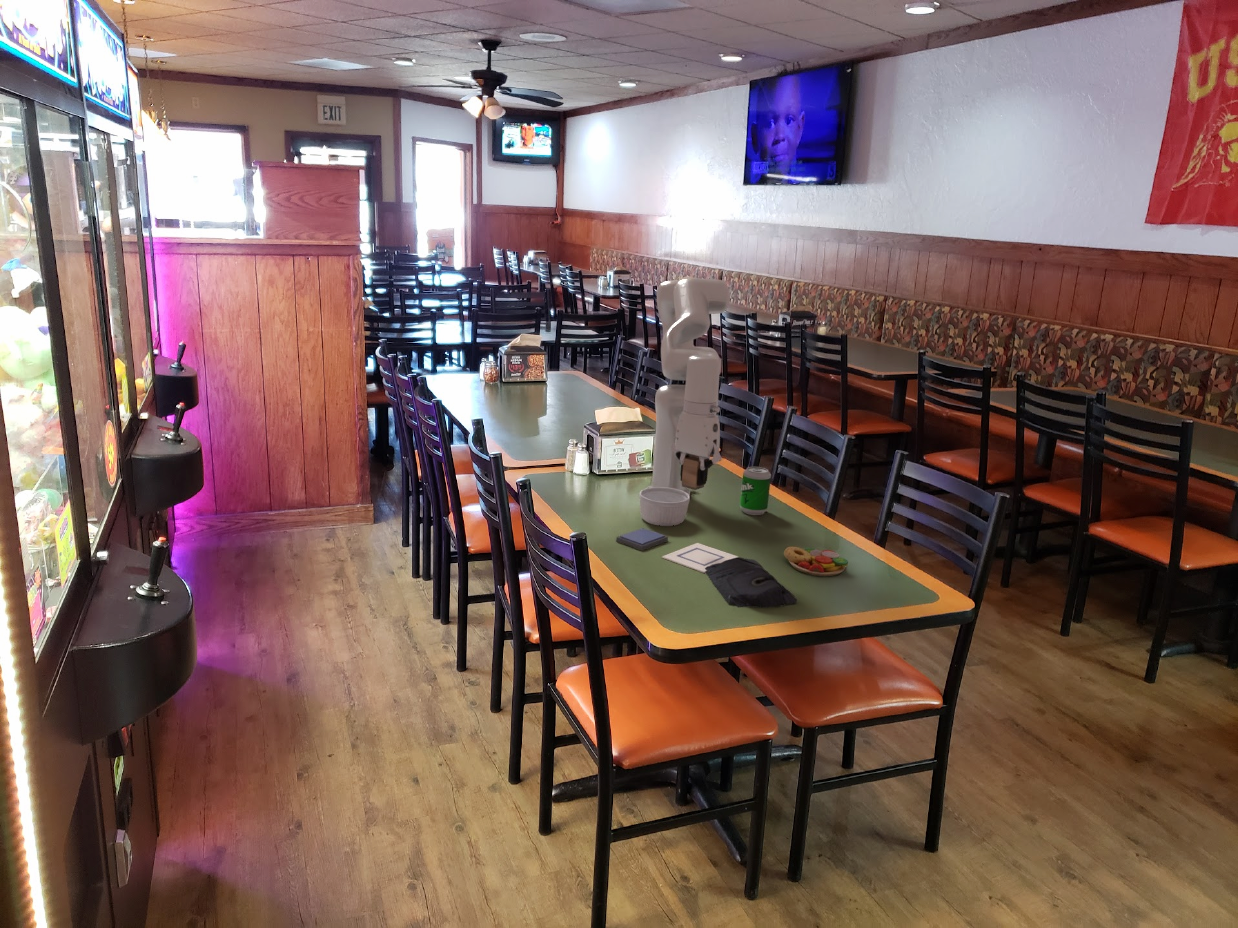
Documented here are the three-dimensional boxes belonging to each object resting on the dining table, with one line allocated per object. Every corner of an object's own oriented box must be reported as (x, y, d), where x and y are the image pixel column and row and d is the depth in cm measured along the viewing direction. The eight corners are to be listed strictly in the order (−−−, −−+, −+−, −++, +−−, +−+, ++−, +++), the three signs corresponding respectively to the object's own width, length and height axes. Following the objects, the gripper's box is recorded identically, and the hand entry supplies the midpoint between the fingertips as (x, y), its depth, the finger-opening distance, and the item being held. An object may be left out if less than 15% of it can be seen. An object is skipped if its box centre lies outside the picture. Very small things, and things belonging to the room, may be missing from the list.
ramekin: (684, 530, 225) (686, 504, 223) (633, 524, 227) (635, 498, 225) (690, 515, 237) (692, 490, 235) (642, 509, 240) (644, 484, 238)
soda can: (766, 508, 247) (770, 467, 243) (767, 517, 239) (772, 474, 236) (738, 506, 247) (743, 464, 244) (739, 514, 240) (744, 472, 237)
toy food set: (776, 558, 210) (778, 545, 209) (824, 554, 215) (826, 542, 214) (806, 580, 198) (808, 566, 197) (856, 576, 203) (858, 562, 202)
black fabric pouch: (762, 568, 204) (765, 549, 203) (800, 608, 184) (803, 587, 182) (699, 569, 201) (701, 550, 200) (730, 611, 180) (732, 589, 179)
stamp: (690, 483, 216) (693, 455, 214) (704, 487, 214) (706, 459, 212) (681, 486, 213) (683, 458, 211) (695, 490, 211) (697, 462, 209)
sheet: (697, 543, 216) (697, 542, 216) (738, 557, 208) (738, 556, 208) (661, 557, 205) (661, 556, 205) (703, 572, 198) (704, 571, 198)
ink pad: (642, 532, 221) (642, 526, 221) (667, 540, 216) (668, 535, 216) (616, 541, 214) (616, 535, 214) (641, 550, 209) (642, 544, 209)
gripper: (738, 412, 206) (731, 487, 211) (679, 400, 216) (673, 472, 221) (721, 416, 201) (713, 493, 205) (661, 403, 210) (656, 477, 215)
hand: (693, 481), depth 213 cm, fingers closed on stamp, 4 cm apart
